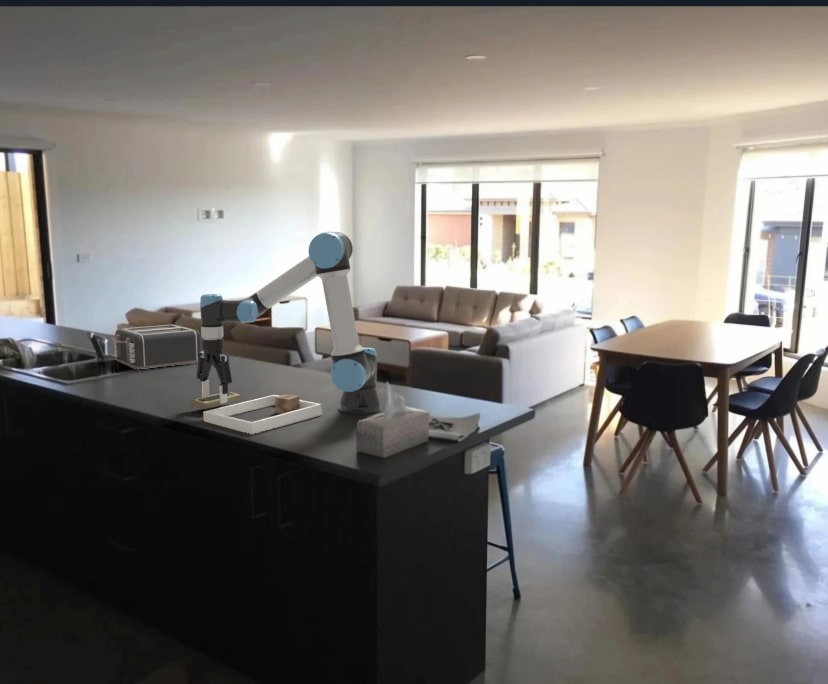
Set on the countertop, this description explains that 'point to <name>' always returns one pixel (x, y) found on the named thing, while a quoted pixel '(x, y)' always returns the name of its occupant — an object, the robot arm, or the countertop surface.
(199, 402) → the computer
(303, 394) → the countertop surface
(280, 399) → the block
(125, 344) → the toaster
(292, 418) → the bin
